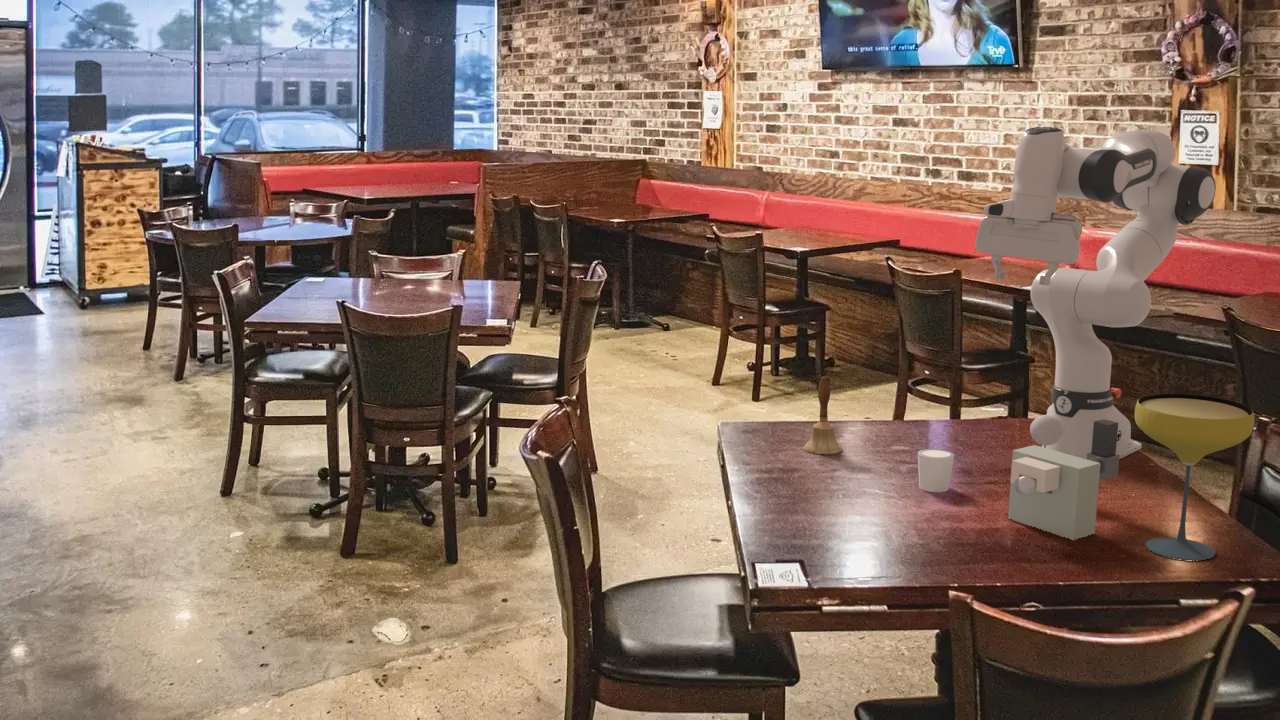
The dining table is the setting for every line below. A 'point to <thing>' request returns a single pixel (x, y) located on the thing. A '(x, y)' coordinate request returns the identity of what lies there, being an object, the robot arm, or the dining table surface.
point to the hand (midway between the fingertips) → (1021, 281)
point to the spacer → (1036, 473)
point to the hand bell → (823, 426)
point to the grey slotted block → (1059, 496)
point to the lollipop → (1046, 430)
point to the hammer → (1089, 455)
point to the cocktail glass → (1191, 447)
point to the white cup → (935, 469)
